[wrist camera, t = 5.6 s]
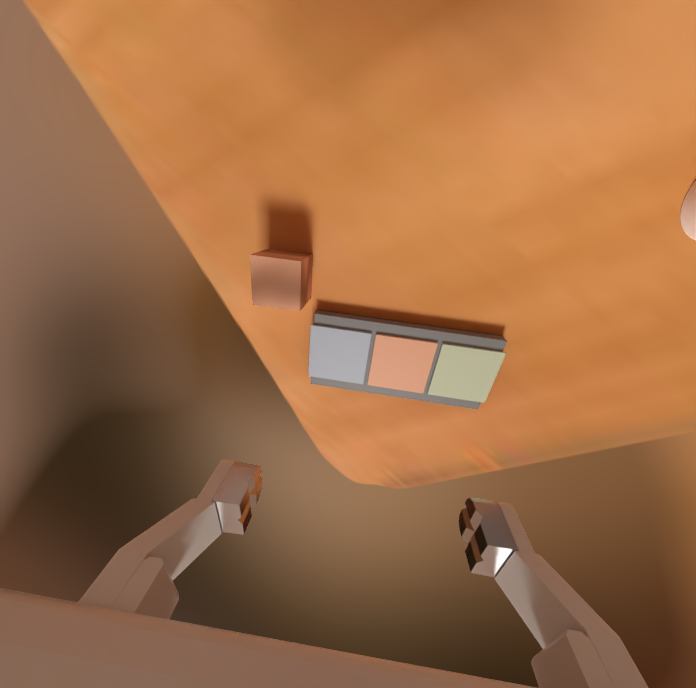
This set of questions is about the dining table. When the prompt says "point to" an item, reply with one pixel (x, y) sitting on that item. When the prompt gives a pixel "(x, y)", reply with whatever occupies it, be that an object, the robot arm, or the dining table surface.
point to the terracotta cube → (281, 279)
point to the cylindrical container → (689, 213)
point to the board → (403, 359)
